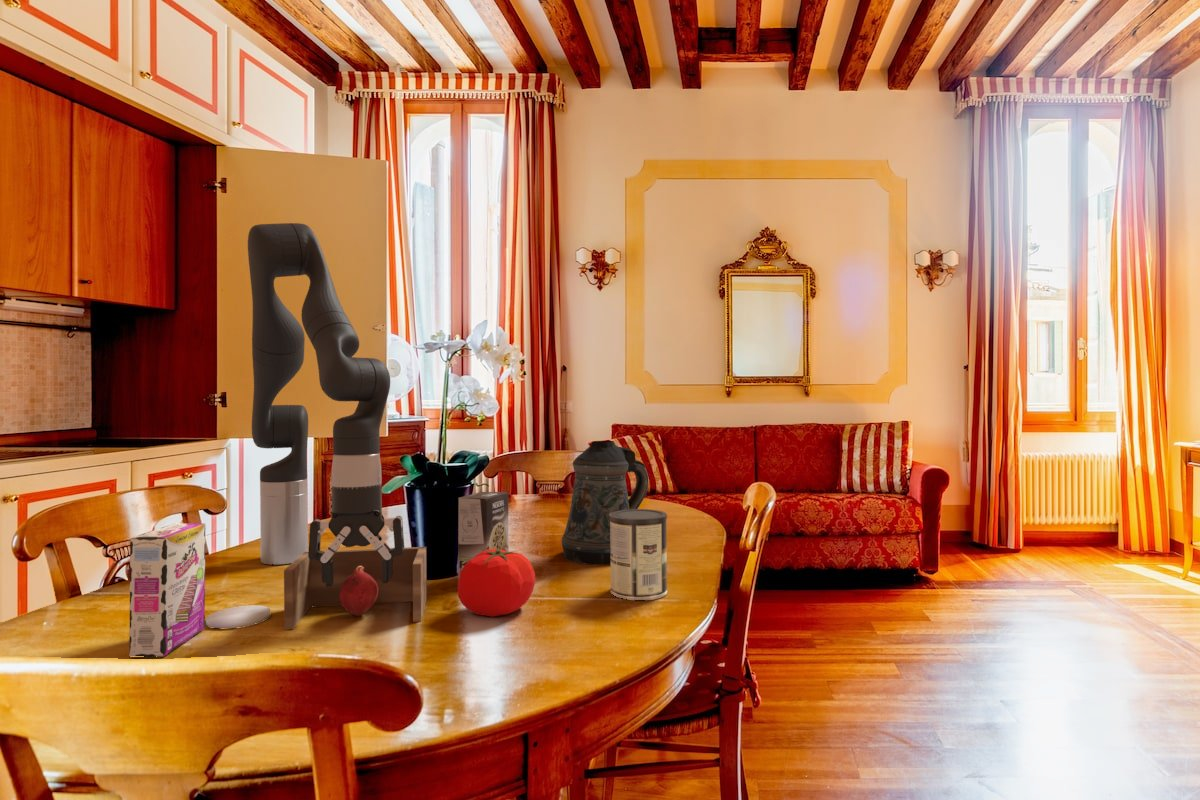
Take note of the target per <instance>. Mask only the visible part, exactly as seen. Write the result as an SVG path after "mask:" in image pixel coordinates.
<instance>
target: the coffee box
mask: <svg viewBox="0 0 1200 800" xmlns="http://www.w3.org/2000/svg"><path fill="white" fill-rule="evenodd" d="M509 494H510V493H509V492H505V491H503V492H500V491H488V492H487V491H480V492H476V493H471V494H468V495H464V496H461V497H458V513H457V514H458V516H457V517H458V519H457V520H458V521H457V523H458V526H457V528H458V529H457V531H458V533H457V534H458V535H457V536H458V537H457V539H458V540H457V542H458V545H457V548H458V549H457V551H458V552H457V553H458V554H457V555H458V561H457V562H458V563H457V565H458V566H457V567H458V568H457V573H458V574H457V579H458V580H457V581H458V582H459V576H460V571H461V570H462V569H463V567H464V566H465V564H466V563H467V562H468V561H470V560H471V559H473V558H474V557H475V555H477V554H479V553H481V552H482V551H484V550H487V549H497V548H500V549H501V550H505V551H508V552H510V550H509V548H510V547H509V544H510V542H509ZM480 548H481V549H480ZM482 549H484V550H482Z"/></svg>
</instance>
